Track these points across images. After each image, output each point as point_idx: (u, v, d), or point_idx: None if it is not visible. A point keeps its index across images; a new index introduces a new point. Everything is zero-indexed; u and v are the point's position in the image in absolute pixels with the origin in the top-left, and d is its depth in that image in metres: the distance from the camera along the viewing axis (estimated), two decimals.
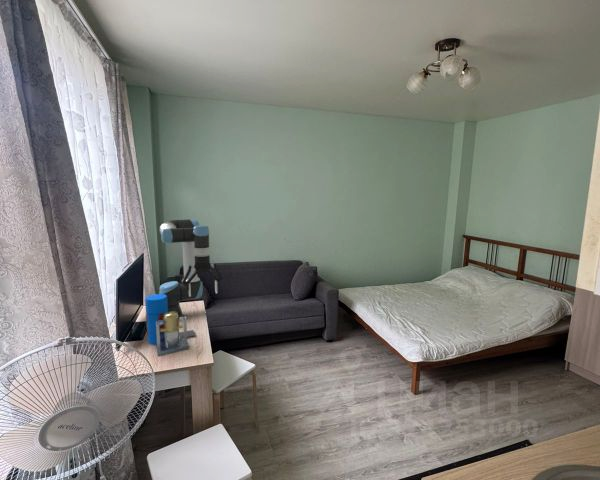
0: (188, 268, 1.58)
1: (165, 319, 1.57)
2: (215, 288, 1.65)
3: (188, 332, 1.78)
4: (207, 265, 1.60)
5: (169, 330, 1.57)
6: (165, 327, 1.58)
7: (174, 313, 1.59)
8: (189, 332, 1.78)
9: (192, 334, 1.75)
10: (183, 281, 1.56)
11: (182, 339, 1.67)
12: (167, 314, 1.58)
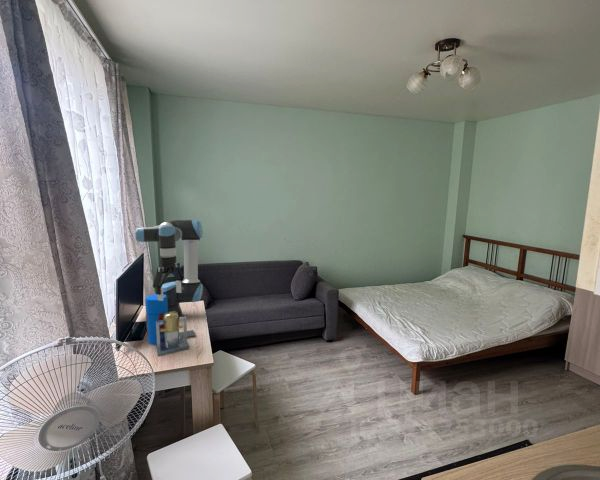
0: None
1: (165, 319, 1.57)
2: None
3: (188, 332, 1.78)
4: None
5: (169, 330, 1.57)
6: (165, 327, 1.58)
7: (174, 313, 1.59)
8: (189, 332, 1.78)
9: (192, 334, 1.75)
10: (180, 275, 1.66)
11: (182, 339, 1.67)
12: (167, 314, 1.58)
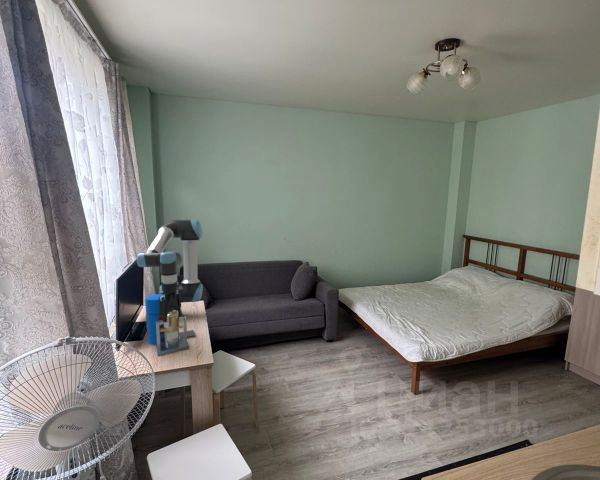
0: None
1: None
2: None
3: (188, 332, 1.78)
4: None
5: (169, 330, 1.57)
6: None
7: (174, 313, 1.59)
8: (189, 332, 1.78)
9: (192, 334, 1.75)
10: None
11: (182, 339, 1.67)
12: None
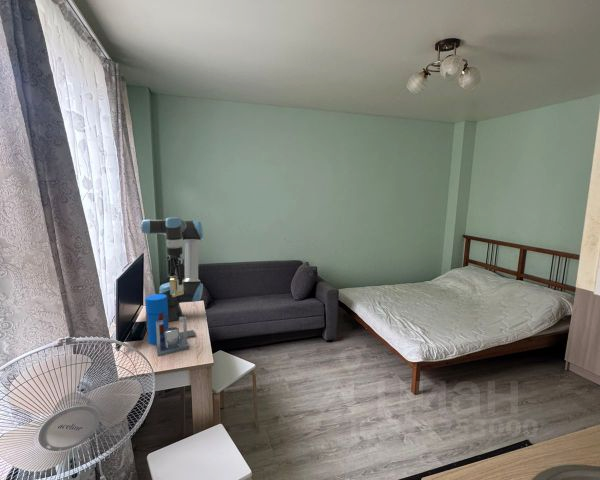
0: None
1: (176, 283, 1.61)
2: None
3: (188, 332, 1.78)
4: (175, 257, 1.59)
5: (180, 293, 1.63)
6: (176, 292, 1.61)
7: None
8: (189, 332, 1.78)
9: (192, 334, 1.75)
10: None
11: (182, 339, 1.67)
12: (175, 279, 1.61)
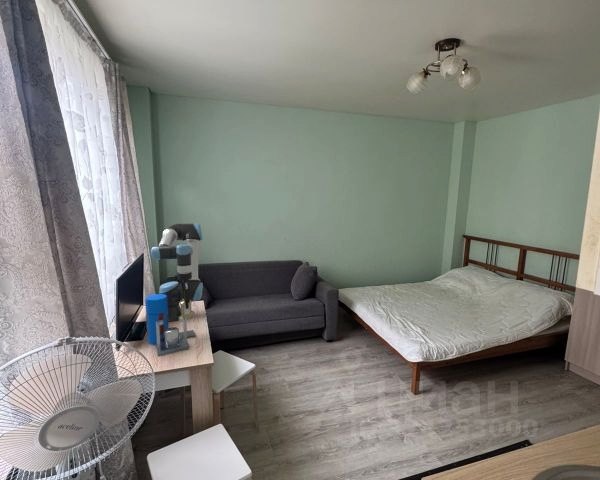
0: None
1: (183, 307, 1.71)
2: None
3: (188, 332, 1.78)
4: (183, 282, 1.69)
5: (188, 316, 1.72)
6: (183, 314, 1.71)
7: None
8: (189, 332, 1.78)
9: (192, 334, 1.75)
10: None
11: (182, 339, 1.67)
12: None
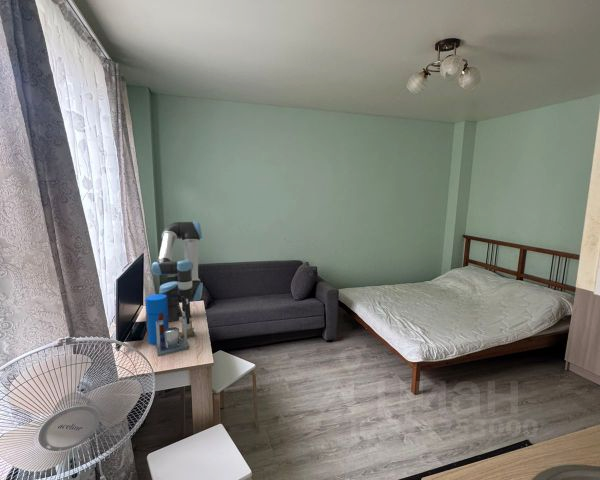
0: None
1: None
2: None
3: None
4: (184, 298, 1.70)
5: (189, 333, 1.74)
6: None
7: None
8: None
9: (192, 334, 1.75)
10: (182, 307, 1.81)
11: (182, 339, 1.67)
12: None
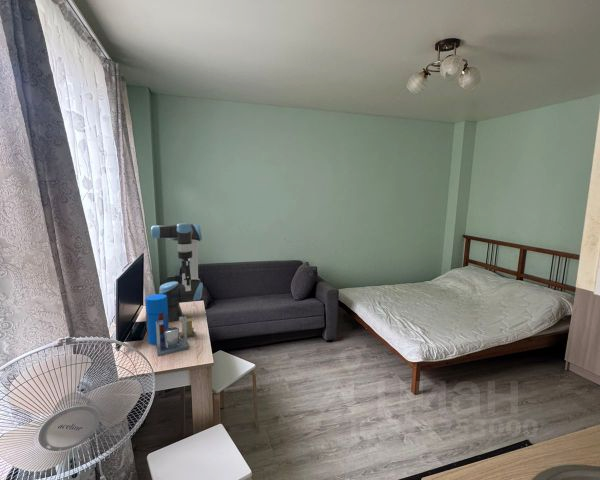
0: None
1: None
2: None
3: None
4: (184, 261, 1.69)
5: (189, 333, 1.74)
6: None
7: (189, 318, 1.76)
8: None
9: (192, 334, 1.75)
10: None
11: (182, 339, 1.67)
12: None
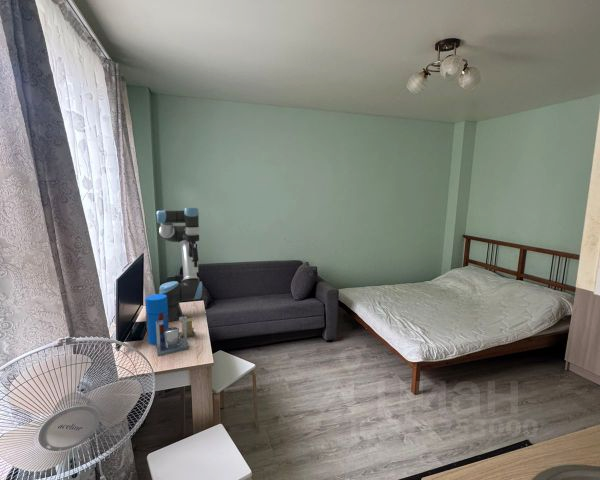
0: None
1: None
2: None
3: None
4: (191, 244, 1.75)
5: (189, 333, 1.74)
6: None
7: (189, 318, 1.76)
8: None
9: (192, 334, 1.75)
10: (188, 253, 1.87)
11: (182, 339, 1.67)
12: None
